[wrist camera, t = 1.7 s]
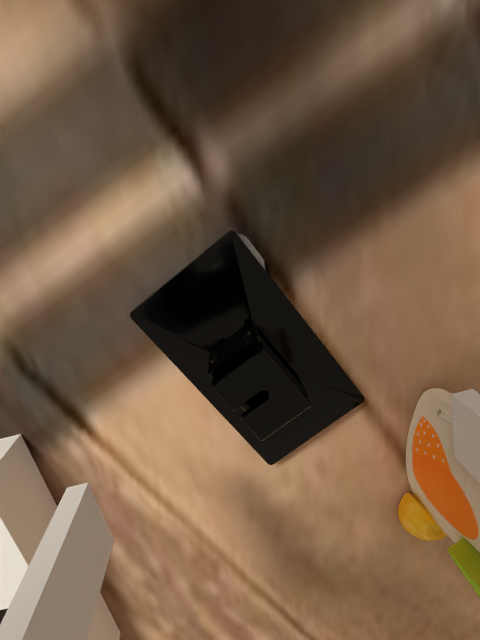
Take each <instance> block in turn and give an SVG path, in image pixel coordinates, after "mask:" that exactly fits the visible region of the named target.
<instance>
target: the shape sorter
mask: <svg viewBox="0 0 480 640" xmlns="http://www.w3.org/2000/svg"><path fill="white" fill-rule="evenodd" d="M452 394H453V393H451V392H449V391H447V390H444V389H439V388H433V389H428V390H427V391H425V392H424V393H423V394H422V395H421V397H420V399H419V401H418V403H417V405H416V408H415V411H414V414H413V417H412V420H411V424H410V428H409V432H408V437H407V444H406V469H407V476H408V480H409V484H410V487H411V489H412V492H413V494H410V493H406V494H405V495H404V496H403V498H402V500H401V502H400V504H399V508H398V518H399V521H400V523H401V525H402V526H403V528H404V529H405V530H406V531H408V532H409V533H410V534H412V535H413V536H415V537H417V538H419V539H422V540H427V541H435V540H440V539H443V538H444V537H446V536H448V537H449V538H450V539H451V540H452V541H453V542H454V543H455V544H453V545H452V546H450V547H449V548H448V549H447V551H448V553H449V554H450V556H451V557H452V559H453V560H454V562H455V563H456V564H457V566H458V567H459V569H460V570H461V571H462V573H463V574H464V576H465V577H466V579H467V580H468V581H469V583H470V584H471V586H472V587H473V589H474V590H475V591H476V593H477V594H478V596H479V597H480V483H479V482H478V481H477V480H476V479H475V478H474V477H473V476H472V475H471V474H470V473H469V472H468V470H467V469H466V468H465V467H464V466H463V465H462V464H461V463H460V462H459V461H458V460H457V459H456V458H455V457H454V440H453V417H452Z"/></svg>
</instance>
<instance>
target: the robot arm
mask: <svg viewBox="0 0 480 640" xmlns="http://www.w3.org/2000/svg"><path fill="white" fill-rule="evenodd" d="M452 417H453V440H454V457H455V458H456V459H457V460H458V461H459V462H460V463H461V464H462V465H463V466H464V467H465V468H466V469H467V470H468V472H469V473H470V474H471V475H472V476H473V477H474V478H475V479H476V480H477V481H478V482H479V483H480V394H479V393H478V392H477V391H475V390H474V389H469V390H465V391H461V392H457V393H453V394H452ZM113 543H114V538H113V536H112V534H111V532H110V529H109V527H108V525H107V523H106V521H105V518H104V516H103V514H102V512H101V509H100V507H99V505H98V503H97V500H96V498H95V496H94V494H93V492H92V489H91V487H90V485H89V483H84V484H80V485H76V486H71V487H67V489H66V491H65V493H64V495H63V497H62V499H61V501H60V503H59V505H58V507H57V509H56V511H55V513H54V515H53V517H52V519H51V521H50V523H49V525H48V528H47V530H46V532H45V534H44V536H43V538H42V540H41V542H40V544H39V546H38V548H37V550H36V552H35V554H34V556H33V558H32V560H31V562H30V564H29V566H28V569H27V571H26V573H25V575H24V577H23V579H22V581H21V583H20V585H19V587H18V589H17V591H16V593H15V595H14V597H13V599H12V601H11V603H10V605H9V607H8V608H7V609H3V610H0V640H87V638H88V634H89V630H90V627H91V623H92V619H93V616H94V612H95V608H96V605H97V601H98V598H99V594H100V590H101V587H102V583H103V579H104V576H105V572H106V568H107V565H108V561H109V557H110V554H111V550H112V546H113Z"/></svg>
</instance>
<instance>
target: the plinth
mask: <svg viewBox="0 0 480 640" xmlns="http://www.w3.org/2000/svg"><path fill="white" fill-rule="evenodd" d="M56 509H57V505H56V503H55V501H54V499H53V497H52V495H51V493H50V491H49V489H48V487H47V485H46V483H45V481H44V479H43V477H42V475H41V473H40V471H39V469H38V467H37V465H36V463H35V461H34V459H33V457H32V455H31V453H30V451H29V449H28V447H27V446H26V444H25V442H24V440H23V438H22V436H21V434H19V435H14V436H10V437H6V438H2V439H0V610H3V609H7V608H8V607H9V605H10V603H11V601H12V599H13V597H14V595H15V593H16V591H17V589H18V587H19V585H20V583H21V581H22V579H23V577H24V575H25V573H26V571H27V569H28V566H29V564H30V562H31V560H32V558H33V556H34V554H35V552H36V550H37V548H38V546H39V544H40V542H41V540H42V538H43V536H44V534H45V532H46V530H47V528H48V525H49V523H50V521H51V519H52V517H53V515H54V513H55V511H56ZM120 633H121V632H120V630H119V629H118V627H117V625H116V623H115V621H114V619H113V617H112V615H111V613H110V611H109V609H108V607H107V605H106V603H105V601H104V599H103V597H102V595H101V593H100V594H99V598H98V601H97V605H96V608H95V612H94V616H93V619H92V623H91V627H90V630H89V634H88V638H87V640H119V638H120Z"/></svg>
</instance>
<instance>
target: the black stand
mask: <svg viewBox="0 0 480 640" xmlns="http://www.w3.org/2000/svg"><path fill="white" fill-rule="evenodd" d="M130 317H131V319H132V320H133V321H134V322H135V323H136V324H137V325H138V326H139V327H140V328H141V329H142V330H143V331H144V332H145V333H146V334H147V336H148V337H149V338H150V339H151V340H152V341H153V342H154V343H155V344H156V345H157V346H158V347H159V348H160V349H161V350H162V352H163V353H164V354H165V355H166V356H167V357H168V358H169V359H170V360H171V361H172V362H173V363H174V364H175V365H176V366H177V367H178V369H179V370H180V371H181V372H182V373H183V374H184V375H185V376H186V377H187V378H188V379H189V380H190V381H191V382H192V383H193V384H194V386H195V387H196V388H197V389H198V390H199V391H200V392H201V393H202V394H203V395H204V396H205V397H206V398H207V399H208V400H209V401H210V403H211V404H212V405H213V406H214V407H215V408H216V409H217V410H218V411H219V412H220V413H221V414H222V415H223V416H224V417H225V419H226V420H227V421H228V422H229V423H230V424H231V425H232V426H233V427H234V428H235V429H236V430H237V431H238V432H239V433H240V434H241V436H242V437H243V438H244V439H245V440H246V441H247V442H248V443H249V444H250V445H251V446H252V447H253V448H254V449H255V450H256V451H257V453H258V454H259V455H260V456H261V457H262V458H263V459H264V460H265V461H266V462H267V463H268V464H269V465H272V464H274V463H276V462H277V461H279V460H280V459H282V458H283V457H284V456H286V455H287V454H289V453H290V452H292V451H293V450H294V449H296V448H297V447H299V446H300V445H302V444H303V443H305V442H306V441H307V440H309V439H310V438H312V437H313V436H315V435H316V434H317V433H319V432H320V431H322V430H323V429H325V428H326V427H328V426H329V425H330V424H332V423H333V422H335V421H336V420H338V419H339V418H341V417H342V416H343V415H345V414H346V413H348V412H349V411H351V410H352V409H353V408H355V407H356V406H358V405H359V404H361V403H362V402H363V401H364V397H363V395H362V394H361V393H360V391H359V390H358V389H357V388H356V386H355V385H354V384H353V382H352V381H351V380H350V379H349V377H348V376H347V375H346V373H345V372H344V371H343V370H342V368H341V367H340V366H339V364H338V363H337V362H336V361H335V359H334V358H333V357H332V355H331V354H330V353H329V351H328V350H327V349H326V348H325V346H324V345H323V344H322V342H321V341H320V340H319V339H318V337H317V336H316V335H315V333H314V332H313V331H312V330H311V328H310V327H309V326H308V324H307V323H306V322H305V321H304V319H303V318H302V317H301V315H300V314H299V313H298V312H297V310H296V309H295V308H294V306H293V305H292V304H291V303H290V301H289V300H288V299H287V297H286V296H285V295H284V294H283V292H282V291H281V290H280V288H279V287H278V286H277V285H276V283H275V282H274V281H273V279H272V278H271V277H270V276H269V274H268V273H267V272H266V270H265V264H264V259H263V258H262V257H261V255H260V254H259V253H258V251H257V250H256V249H255V248H254V246H253V245H252V244H251V242H250V241H249V240H248V238H247V237H246V236H244V235H241V234H239V233H236V232H235V231H233V230H231V231H229V232H227V233H226V234H225V235H224V236H223V237H221V238H220V239H219V240H218V241H217V242H215V243H214V244H213V245H212V246H210V247H209V248H208V249H207V250H206V251H204V252H203V253H202V254H201V255H199V256H198V257H197V258H196V259H195V260H193V261H192V262H191V263H190V264H189V265H187V266H186V267H185V268H184V269H182V270H181V271H180V272H179V273H178V274H176V275H175V276H174V277H173V278H171V279H170V280H169V281H168V282H167V283H165V284H164V285H163V286H162V287H161V288H159V289H158V290H157V291H156V292H154V293H153V294H152V295H151V296H150V297H148V298H147V299H146V300H145V301H144V302H142V303H141V304H140V305H139V306H137V307H136V308H135V309H134V310H133V311H132V312H131V313H130Z"/></svg>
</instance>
